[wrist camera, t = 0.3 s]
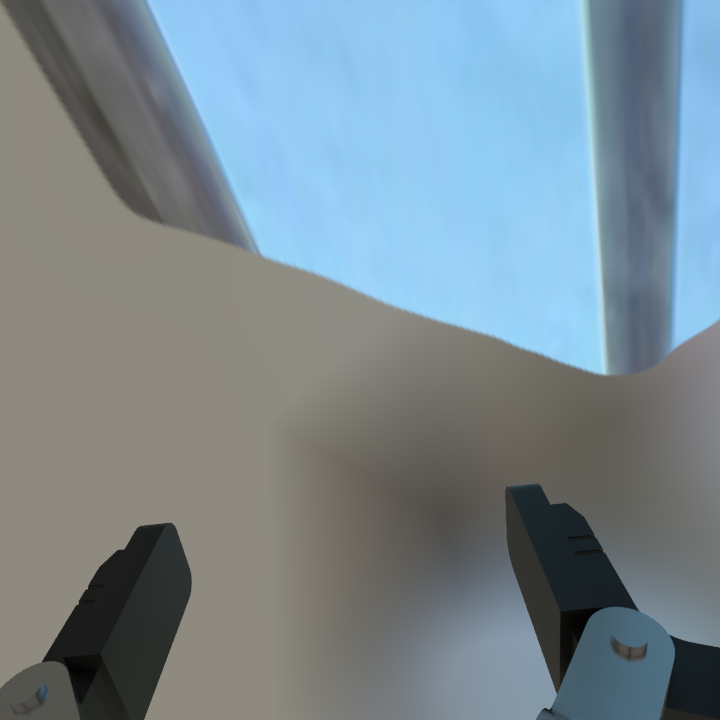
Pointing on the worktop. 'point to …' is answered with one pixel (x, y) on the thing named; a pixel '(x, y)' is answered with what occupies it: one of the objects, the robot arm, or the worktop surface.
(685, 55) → the worktop surface
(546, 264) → the worktop surface
